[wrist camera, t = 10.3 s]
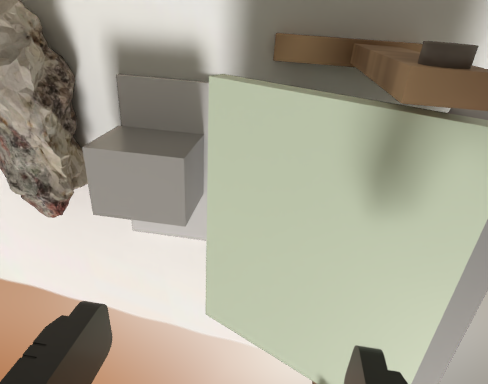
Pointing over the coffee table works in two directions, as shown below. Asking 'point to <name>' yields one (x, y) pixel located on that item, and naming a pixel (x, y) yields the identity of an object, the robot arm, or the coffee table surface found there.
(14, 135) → the mineral rock
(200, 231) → the mat
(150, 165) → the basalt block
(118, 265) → the coffee table surface
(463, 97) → the frame
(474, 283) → the trapdoor
